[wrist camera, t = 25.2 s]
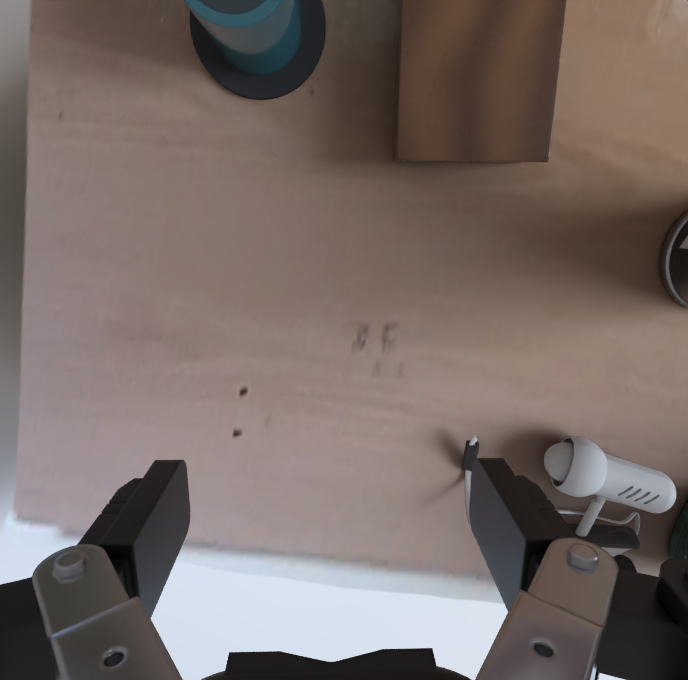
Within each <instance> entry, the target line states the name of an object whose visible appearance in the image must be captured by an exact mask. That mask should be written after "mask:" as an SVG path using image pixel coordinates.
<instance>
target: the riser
mask: <svg viewBox="0 0 688 680" xmlns="http://www.w3.org/2000/svg"><path fill="white" fill-rule="evenodd" d="M565 7H566V0H398V22H397V52H396V83H395V114H394V144H393V161H424V162H506V163H521V162H548V161H549V152H550V143H551V133H552V124H553V115H554V106H555V97H556V88H557V79H558V70H559V61H560V52H561V43H562V34H563V25H564V16H565Z"/></svg>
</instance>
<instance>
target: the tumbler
mask: <svg viewBox="0 0 688 680" xmlns="http://www.w3.org/2000/svg"><path fill="white" fill-rule="evenodd" d="M184 1H185V2H186V4H187V5H188V7H189V8H190V10H191V11H192V13H193V14H194V15H195V17H196V18H197V20H198V21H199V23H200V24H201V26H202V27H203V28H204V30H205V31H206V33H207V34H208V36H209V37H210V39H211V40H212V41H213V43H214V44H215V46H216V47H217V49H218V50H219V52H220V53H221V54H222V56H223V57H224V58H225V59H226V61H227V62H229V63H230V64H231V65H232V66H233V67H235V68H236V69H238V70H240V71H242V72H244V73H247V74H251V75H267V74H271V73H274V72H276V71H278V70H280V69H281V68H283V67H284V66H285V65H286V64H287V63H288V62H289V61H290V60H291V59H292V58H293V56H294V55H295V53H296V51H297V49H298V46H299V43H300V40H301V34H302V21H301V13H300V6H299V0H184Z"/></svg>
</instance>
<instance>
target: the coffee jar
mask: <svg viewBox="0 0 688 680" xmlns="http://www.w3.org/2000/svg"><path fill="white" fill-rule="evenodd" d="M668 552H669V557H670V559H686V560H688V503H687V504H686V506H685V508H684V509H683V511H682V513H681V515H680V517H679V519H678V521H677V523H676V526H675V528H674V530H673V533H672V536H671V539H670V542H669V547H668Z"/></svg>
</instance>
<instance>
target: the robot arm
mask: <svg viewBox="0 0 688 680" xmlns="http://www.w3.org/2000/svg"><path fill="white" fill-rule="evenodd" d="M660 273H661V278H662V282H663V284H664V286H665V288H666V290H667V292H668V293H669V294H670V296H671V297H672V298H673V299H674V300H676V301H677V302H678V303H680V304H681V305H683V306H685V307H688V211H686V212H685V213H684V214H683V215H682V216H681V217H680V218H679V219H678V220H677V221H676V222H675V224H674V225H673V226H672V228H671V230H670V231H669V233H668V235H667V237H666V239H665V241H664V244H663V247H662V251H661V255H660ZM469 518H470V525H471V528H472V531H473V534H474V536H475V538H476V540H477V543H478V545H479V547H480V549H481V552H482V554H483V556H484V558H485V561H486V563H487V565H488V567H489V570H490V572H491V574H492V576H493V579H494V581H495V583H496V585H497V588H498V590H499V592H500V594H501V597H502V599H503V601H504V603H505V605H506V608H507V610H508V614H507V616H506V618H505V620H504V622H503V624H502V626H501V628H500V630H499V632H498V634H497V636H496V638H495V640H494V643H493V644H492V647H491V649H490V651H489V653H488V655H487V657H486V659H485V661H484V663H483V665H482V667H481V669H480V671H479V673H478V675H477V677H476V679H475V680H598V679H599V674H600V673H603V674H606V675H610V676H614V677H618V678H622V679H626V680H688V560H686V559H671V560H668V561H665V562H664V563H663V564H662V565H661V568H660V573H659V577H656V576H651V575H646V574H641V573H636V572H631V571H627V570H623V569H620V568H618V565H617V563H616V561H615V559H614V558H613V557H612V556H611V555H610V554H609V553H608V552H607V551H605V550H604V549H603V548H601V547H599V546H597V545H595V544H593V543H591V542H588V541H585V540H582V539H578V538H577V536H576V535H575V534H574V532H573V531H572V530H571V528H570V527H569V526H568V524H567V523H566V522H565V520H564V519H563V518H562V516H561V515H560V514H559V512H558V511H557V510H555V507H554V506H553V505H552V503H551V502H550V501H549V500H547V497H546V495H545V494H544V493H543V491H542V490H541V489H540V487H539V486H538V485H536V484H535V483H533V482H532V481H530V480H529V479H528V478H526V477H525V476H515V474H514V473H513V472H512V470H511V469H510V467H509V466H508V464H507V463H506V462H505V460H504V459H503V458H475V459H474V462H473V467H472V478H471V490H470V502H469ZM189 523H190V502H189V490H188V478H187V467H186V463H185V461H184V460H156V461H154V463H153V464H152V466H151V467H150V469H149V470H148V471H147V473H146V474H145V476H144V477H143V478H134V479H133V480H131V481H130V482H128V483H127V484H125V485H124V486H122V487H121V488H120V489H118V491H117V492H116V493H115V495H114V496H113V497H112V499H111V500H110V501H109V504H107V505H106V507H105V508H104V509H103V511H102V514H100V515H99V516H98V517H97V519H96V520H95V522H94V523H93V524H92V526H91V527H90V528H89V530H88V531H87V532H86V534H85V535H84V536H83V538H82V539H81V540H80V542H79V543H78V544H77V545H76V546H71V547H68V548H65V549H62V550H60V551H58V552H56V553H54V554H52V555H50V556H49V557H47V558H46V559H45V560H43V561H42V562H41V563H40V564H39V565H38V566H37V568H36V569H35V571H34V573H33V576H32V577H31V578H27V579H23V580H19V581H15V582H10V583H6V584H1V585H0V680H182V678H181V676H180V674H179V672H178V670H177V668H176V666H175V664H174V662H173V661H172V659H171V657H170V655H169V653H168V651H167V649H166V647H165V645H164V643H163V642H162V640H161V638H160V636H159V634H158V632H157V630H156V629H155V627H154V625H153V623H152V621H151V619H150V618H151V616H152V614H153V611H154V609H155V607H156V604H157V602H158V600H159V597H160V595H161V593H162V591H163V588H164V586H165V584H166V581H167V579H168V577H169V574H170V571H171V570H172V567H173V565H174V563H175V560H176V558H177V556H178V554H179V551H180V549H181V547H182V544H183V542H184V540H185V537H186V535H187V532H188V528H189ZM202 680H471V679H469V678H468V677H466V676H463V675H461V674H459V673H457V672H454V671H451V670H448V669H445V668H442V667H438V666H436V662H435V658H434V654H433V650H432V648H421V649H382V650H378V651H375V652H371V653H367V654H363V655H359V656H355V657H351V658H348V659H344V660H340V661H336V662H326V661H321V660H317V659H312V658H307V657H303V656H298V655H293V654H289V653H284V652H279V651H277V652H230V653H229V656H228V661H227V665H226V670H225V671H223V672H219V673H216V674H213V675H211V676H209V677H206V678H204V679H202Z"/></svg>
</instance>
